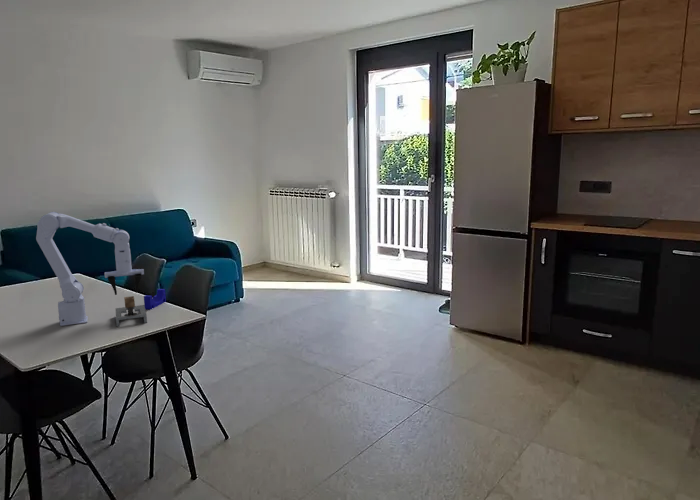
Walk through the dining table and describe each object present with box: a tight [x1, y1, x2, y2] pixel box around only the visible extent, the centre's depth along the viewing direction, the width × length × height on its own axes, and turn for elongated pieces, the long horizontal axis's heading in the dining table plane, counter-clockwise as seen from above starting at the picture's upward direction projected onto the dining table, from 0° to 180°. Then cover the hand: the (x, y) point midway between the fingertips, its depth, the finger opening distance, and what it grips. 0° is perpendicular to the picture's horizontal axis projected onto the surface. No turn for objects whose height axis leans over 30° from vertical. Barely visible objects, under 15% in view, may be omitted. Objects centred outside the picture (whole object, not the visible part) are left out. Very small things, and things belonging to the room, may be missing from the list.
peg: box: [123, 295, 138, 320], centre depth 207 cm, size 5×5×8 cm
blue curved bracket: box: [143, 288, 167, 310], centre depth 223 cm, size 12×4×6 cm, turn 169°
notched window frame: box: [115, 304, 148, 328], centre depth 204 cm, size 11×14×3 cm
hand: (126, 293), depth 207 cm, fingers open, 7 cm apart
